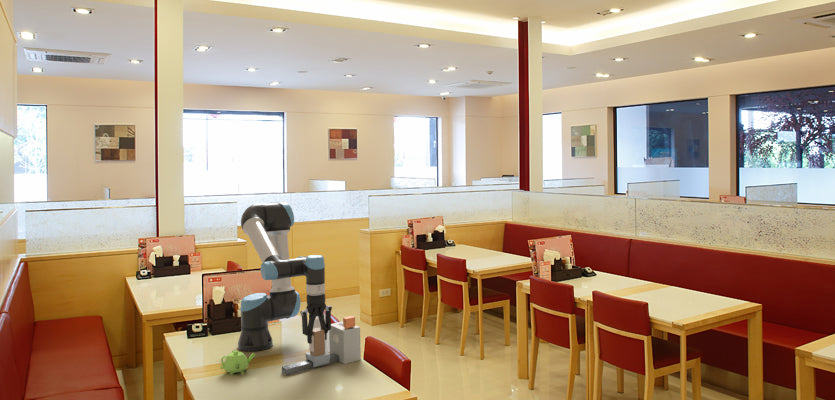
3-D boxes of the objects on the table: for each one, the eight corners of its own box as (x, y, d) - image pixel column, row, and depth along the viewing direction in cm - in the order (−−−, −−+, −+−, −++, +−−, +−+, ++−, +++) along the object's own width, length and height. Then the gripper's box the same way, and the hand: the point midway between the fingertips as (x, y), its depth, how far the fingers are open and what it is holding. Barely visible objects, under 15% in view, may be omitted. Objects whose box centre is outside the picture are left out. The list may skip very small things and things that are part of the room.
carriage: (305, 361, 239) (304, 329, 238) (320, 358, 243) (319, 325, 242) (314, 367, 232) (313, 333, 231) (330, 363, 237) (329, 330, 236)
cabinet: (328, 356, 248) (328, 324, 247) (345, 352, 253) (345, 320, 252) (343, 364, 238) (342, 330, 237) (360, 359, 244) (360, 326, 243)
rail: (282, 372, 230) (281, 366, 230) (334, 358, 245) (334, 353, 245) (286, 375, 227) (286, 369, 227) (339, 361, 242) (339, 355, 242)
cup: (326, 355, 250) (325, 319, 248) (308, 354, 251) (307, 318, 250) (332, 349, 258) (331, 313, 256) (315, 348, 259) (314, 313, 258)
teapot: (215, 374, 229) (214, 353, 228) (234, 364, 240) (234, 345, 239) (238, 378, 225) (237, 357, 224) (257, 368, 235) (256, 348, 235)
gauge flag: (343, 327, 241) (343, 317, 241) (352, 325, 244) (352, 315, 244) (346, 328, 239) (346, 319, 239) (355, 326, 242) (355, 317, 242)
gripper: (300, 298, 227) (302, 356, 229) (339, 291, 238) (340, 347, 240) (292, 295, 233) (293, 351, 235) (330, 288, 244) (331, 342, 246)
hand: (317, 349), depth 237 cm, fingers closed on carriage, 4 cm apart
